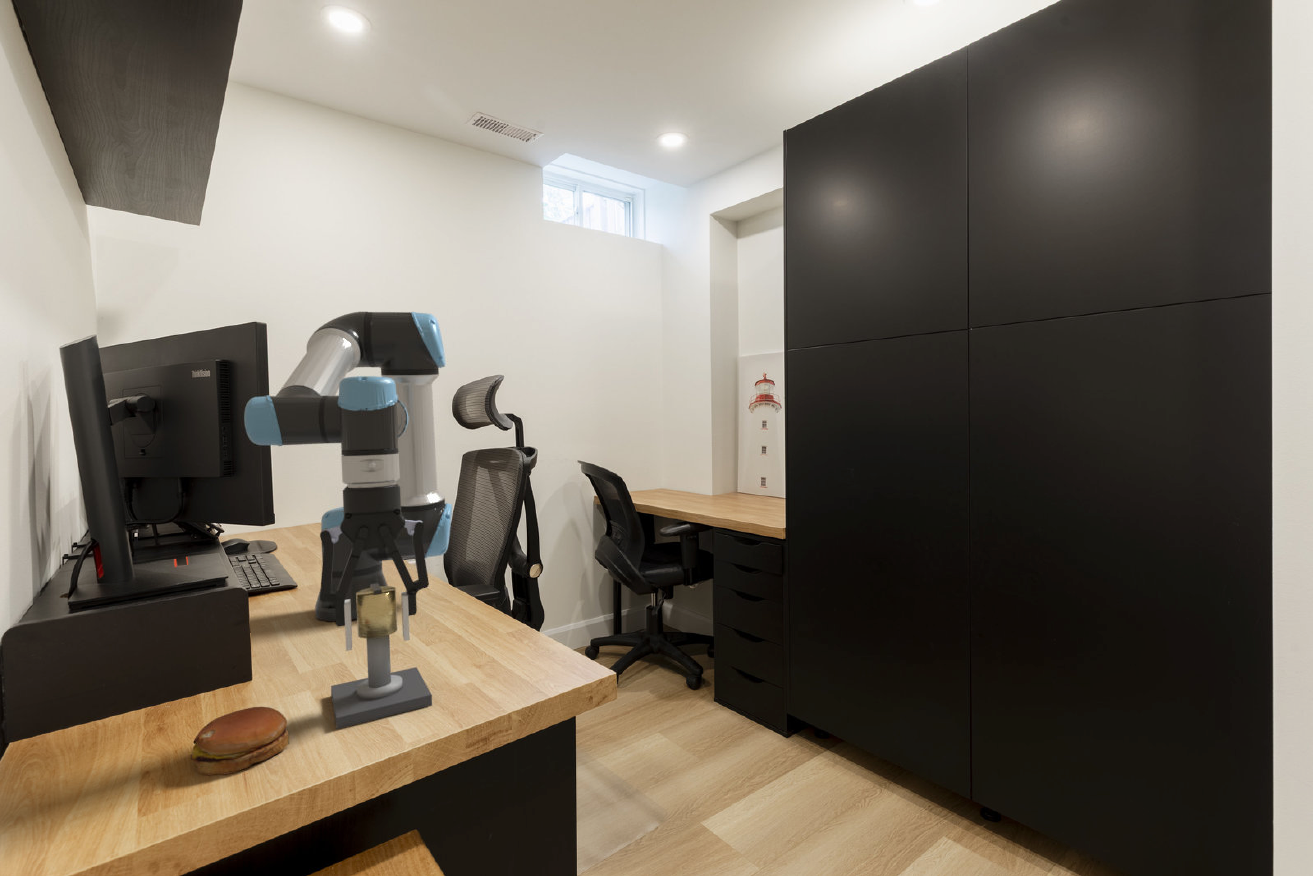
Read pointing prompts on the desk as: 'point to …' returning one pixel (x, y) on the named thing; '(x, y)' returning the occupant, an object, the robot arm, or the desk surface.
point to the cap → (376, 611)
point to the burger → (239, 740)
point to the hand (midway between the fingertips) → (378, 642)
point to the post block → (379, 689)
